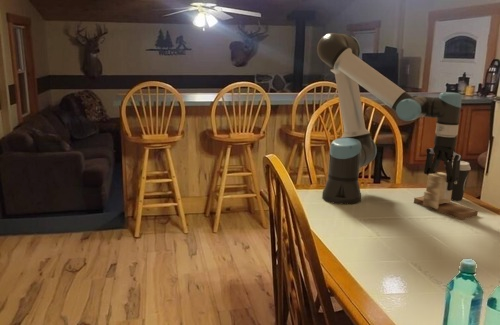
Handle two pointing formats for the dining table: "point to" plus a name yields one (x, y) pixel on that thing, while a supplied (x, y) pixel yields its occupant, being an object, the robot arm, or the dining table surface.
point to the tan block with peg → (435, 190)
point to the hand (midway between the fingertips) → (438, 195)
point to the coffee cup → (460, 181)
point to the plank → (450, 209)
